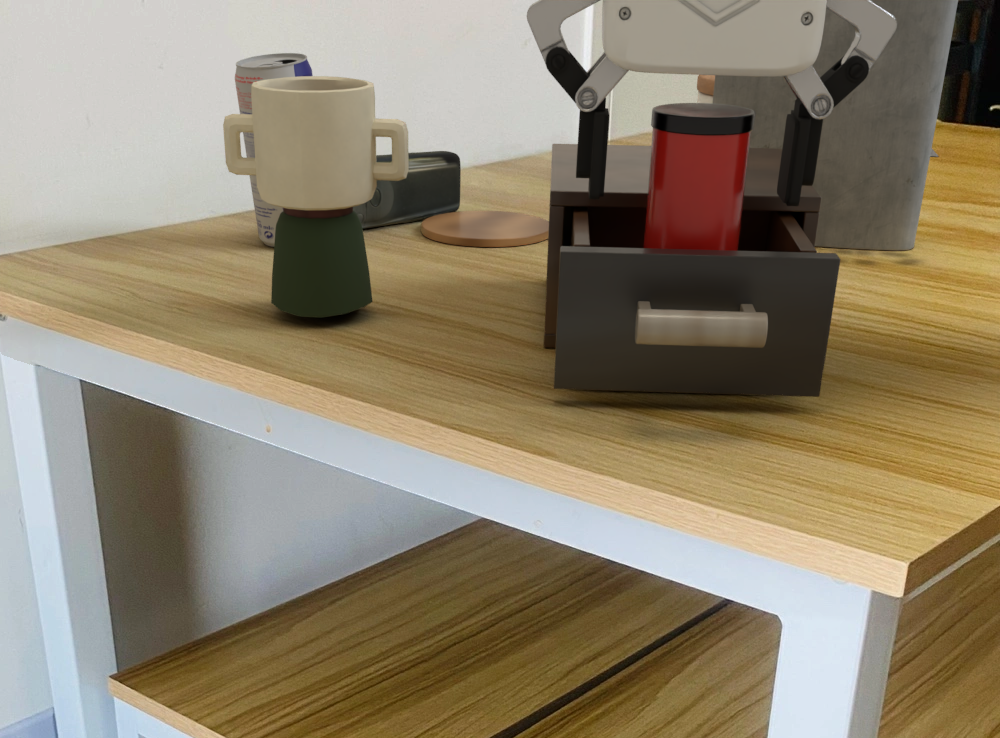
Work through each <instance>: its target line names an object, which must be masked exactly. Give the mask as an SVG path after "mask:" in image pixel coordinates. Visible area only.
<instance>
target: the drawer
mask: <svg viewBox="0 0 1000 738" xmlns="http://www.w3.org/2000/svg"><path fill="white" fill-rule="evenodd" d="M646 209H647V208H621V207H579V206H572V223H571V242H570V246H561V247H560V265H559V286H558V307H557V328H556V348H554V349H555V352H554V370H553V371H554V372H553V373H554V374H553V389H555V390H578V391H579V390H580V391H581V390H582V391H583V390H585V391H612V392H613V391H615V392H646V393H648V392H650V393H675V394H677V393H679V394H708V395H709V394H710V395H712V394H713V395H740V396H741V395H743V396H748V395H749V396H772V397H773V396H774V397H777V396H779V397H807V398H808V397H809V398H810V397H811V398H812V397H813V398H819V397H820V395H821V389H822V382H823V376H824V371H825V370H824V369H825V363H826V356H827V350H828V343H829V337H830V331H831V325H832V319H833V312H834V311H833V310H834V304H835V297H836V291H837V285H838V277H839V272H840V265H841V258H840V257H839V255H838V253H836V252H817V249H816V248H814V246H813V245H812V243H811V242H810V240H809V239H808V237H807V236H806V234H805V233H804V232H803V230H802V229H801V227H800V226H799V224H798V223H797V221H796V220H795V218H794V217H793V215H792V214H791V212H785V211H744V210H742V218H741V227H740V236H739V245H738V251H730V250H691V249H652V248H643V247H644V234H645V221H646Z"/></svg>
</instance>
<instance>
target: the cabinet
mask: <svg viewBox="0 0 1000 738" xmlns="http://www.w3.org/2000/svg"><path fill="white" fill-rule="evenodd" d="M577 147H578V143H552V144H551V165H550V167H551V168H550V185H549V186H550V187H549V188H550V191H549V211H548V221H549V232H548V239H547V255H546V257H547V258H546V259H547V261H546V281H545V305H544V330H543V332H544V333H543V348H545V349H547V348H548V349H556V328H557V307H558V286H559V265H560V247H561V246H570V242H571V223H572V206H579V207H621V208H647V196H648V183H649V170H650V158H651V145H630V144H629V145H628V144H607V158H606V172H605V185H604V197H600V198H599V199H589V191H588V186H589V178H576V163H577ZM781 155H782V149H773V148H749V157H748V165H747V174H746V183H745V192H744V201H743V209H742V210H744V211H785V212H791V214H792V215H793V217H794V218H795V220H796V221H797V223H798V224H799V226H800V227H801V229H802V230H803V232H804V233H805V234H806V236H807V237H808V239H809V240H810V242H811V243H812V245H813V246H814V248H815V247H816V246H815V241H816V234H817V227H818V220H819V211H820V205H821V196H820V195H819V194H818V193H817V191H816V190H815V189H814V188H813V187H812V186H802V188H801V195H800V202H799V205H798V206H787V205H786V203H783V201H782V200H781V199H780V197H779V196H778V194H777V185H778V177H779V170H780V162H781ZM815 249H816V248H815Z"/></svg>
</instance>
